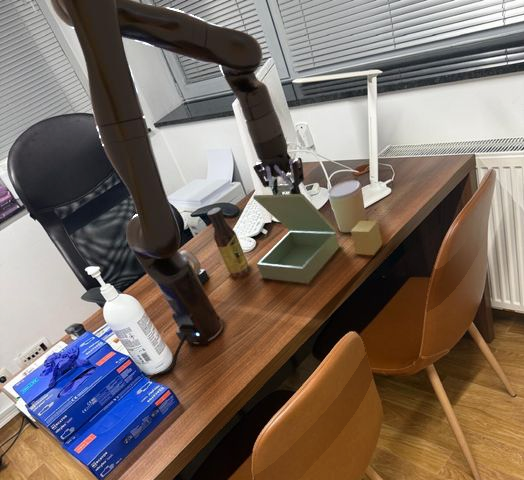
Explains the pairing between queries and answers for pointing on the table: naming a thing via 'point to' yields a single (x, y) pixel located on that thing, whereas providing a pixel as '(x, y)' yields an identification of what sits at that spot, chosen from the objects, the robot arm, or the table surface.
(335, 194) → the coffee cup
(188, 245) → the table surface
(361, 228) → the block
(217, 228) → the sauce bottle
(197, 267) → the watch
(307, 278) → the box
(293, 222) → the lid
